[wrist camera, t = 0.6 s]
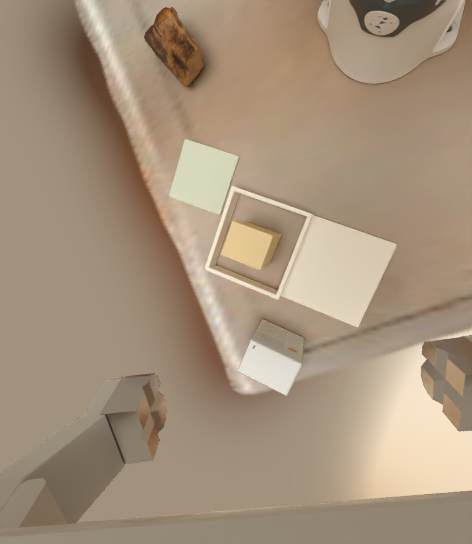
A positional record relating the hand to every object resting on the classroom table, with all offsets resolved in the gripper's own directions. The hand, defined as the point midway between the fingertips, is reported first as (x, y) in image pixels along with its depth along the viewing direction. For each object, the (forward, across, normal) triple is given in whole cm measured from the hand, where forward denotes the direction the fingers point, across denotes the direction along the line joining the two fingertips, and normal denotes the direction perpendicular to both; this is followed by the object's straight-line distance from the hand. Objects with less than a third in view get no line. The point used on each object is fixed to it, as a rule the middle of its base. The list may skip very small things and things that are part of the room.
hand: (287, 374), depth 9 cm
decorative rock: (+51, +7, -24) cm, 57 cm away
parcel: (+42, 0, +6) cm, 42 cm away
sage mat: (+46, +8, -5) cm, 47 cm away
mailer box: (+40, -6, +9) cm, 41 cm away
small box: (+38, -1, +23) cm, 44 cm away
